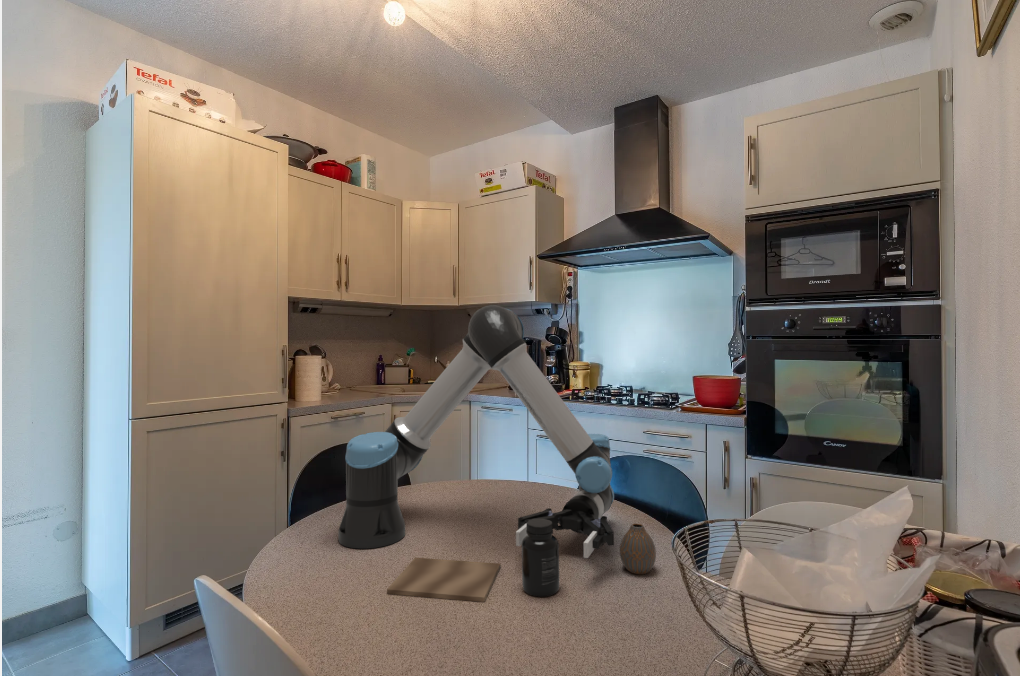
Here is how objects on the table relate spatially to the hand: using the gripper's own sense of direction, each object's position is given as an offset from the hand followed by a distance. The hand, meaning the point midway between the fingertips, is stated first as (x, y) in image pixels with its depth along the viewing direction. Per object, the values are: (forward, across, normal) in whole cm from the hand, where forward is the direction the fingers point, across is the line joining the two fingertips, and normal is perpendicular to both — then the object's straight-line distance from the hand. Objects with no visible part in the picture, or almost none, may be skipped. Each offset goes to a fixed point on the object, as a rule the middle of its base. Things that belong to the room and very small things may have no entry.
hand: (550, 544), depth 95 cm
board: (+7, +18, -7) cm, 21 cm away
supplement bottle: (+3, +1, -7) cm, 8 cm away
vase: (-12, -14, -7) cm, 20 cm away
